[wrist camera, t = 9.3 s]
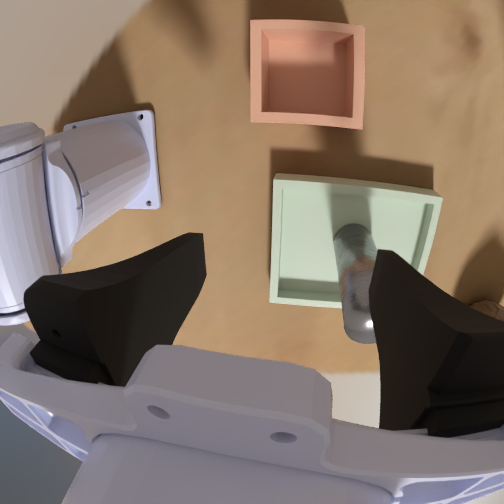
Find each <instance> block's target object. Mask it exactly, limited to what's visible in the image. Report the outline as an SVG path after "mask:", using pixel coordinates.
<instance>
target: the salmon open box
mask: <svg viewBox="0 0 504 504" xmlns="http://www.w3.org/2000/svg"><path fill="white" fill-rule="evenodd" d="M250 81H251V122H264V123H292V124H309V125H322V126H333V127H343V128H352V129H361V130H362V128H363V110H364V82H365V37H364V26H360V25H352V24H345V23H336V22H325V21H311V20H250Z"/></svg>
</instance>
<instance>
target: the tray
mask: <svg viewBox="0 0 504 504" xmlns="http://www.w3.org/2000/svg"><path fill="white" fill-rule="evenodd" d="M442 199H443V197H442V196H440V195H439V194H438V193H437V192H436V191H434V190H431V189H425V188H419V187H412V186H405V185H398V184H391V183H383V182H375V181H366V180H357V179H348V178H337V177H326V176H314V175H300V174H285V173H276V174H275V177H274V179H273V215H272V249H271V278H270V303H280V304H292V305H304V306H316V307H330V308H342V303H341V295H340V287H339V279H338V272H337V265H336V258H335V252H334V245H333V239H334V236H335V234H336V232H337V231H338V230H339V229H340V228H341V227H343V226H344V225H347V224H351V223H357V224H361V225H363V226H365V227H366V228H367V229H368V230H369V232H370V233H371V236H372V238H373V240H374V243H375V245H376V248H377V250H378V249H384V250H392V251H394V252H395V253H397V254H398V255H399V256H401V257H402V258H403V259H404V260H405V261H407V262H408V263H409V264H410V265H411V266H412V267H414V268H415V269H416V270H417V271H418V272H419V273H421V274H422V275H423V273H424V270H425V267H426V264H427V260H428V257H429V253H430V250H431V246H432V242H433V238H434V235H435V231H436V227H437V222H438V218H439V214H440V209H441V204H442Z"/></svg>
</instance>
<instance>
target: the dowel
mask: <svg viewBox="0 0 504 504" xmlns="http://www.w3.org/2000/svg"><path fill="white" fill-rule="evenodd" d="M333 245H334V252H335V258H336V265H337V272H338V279H339V287H340V295H341V303H342V311H343V320H344V329H345V332H346V334H347V335H348V337H349V338H351V339H352V340H354V341H356V342H358V343H363V344H372V343H376V338H375V333H374V328H373V324H372V319H371V314H370V306H369V293H368V290H369V286H370V282H371V278H372V274H373V270H374V265H375V261H376V256H377V251H378V250H377V248H376V245H375V243H374V240H373V238H372V236H371V233H370V232H369V230H368V229H367V228H366V227H365V226H363V225H361V224H357V223H351V224H347V225H344V226H343V227H341V228H340V229H339V230H338V231H337V232H336V234H335V236H334V239H333Z"/></svg>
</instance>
